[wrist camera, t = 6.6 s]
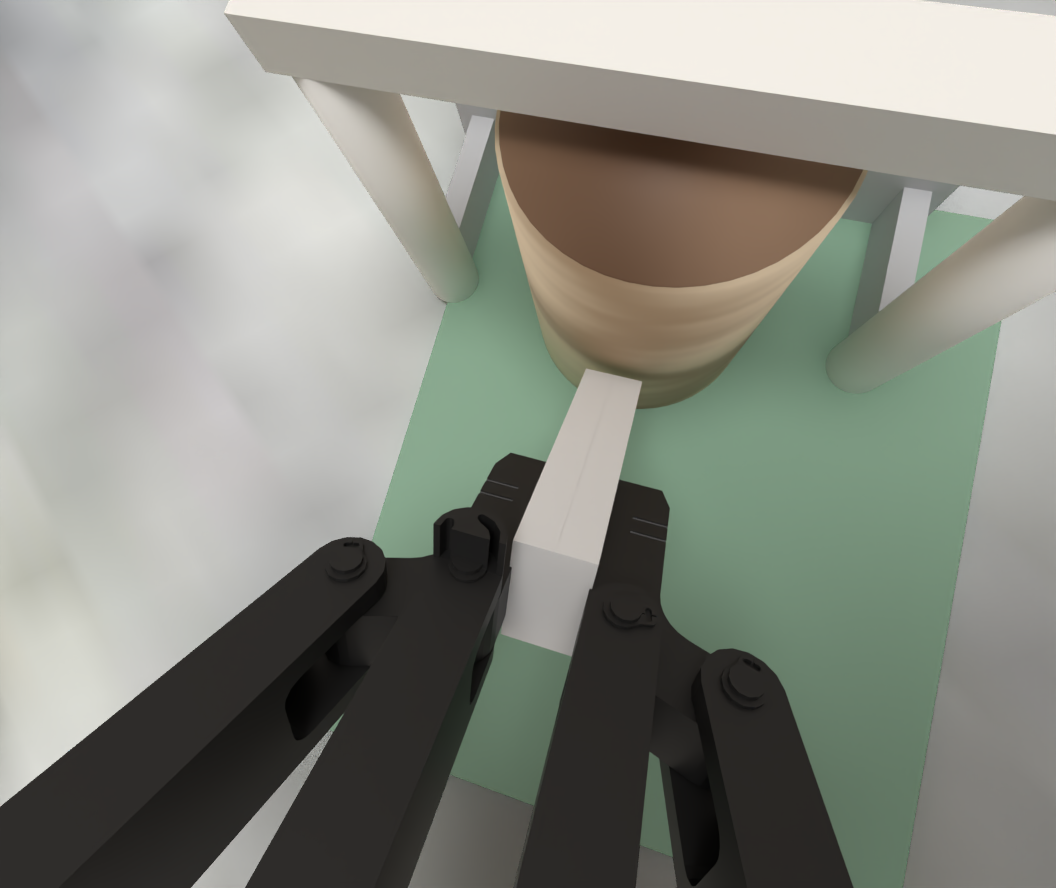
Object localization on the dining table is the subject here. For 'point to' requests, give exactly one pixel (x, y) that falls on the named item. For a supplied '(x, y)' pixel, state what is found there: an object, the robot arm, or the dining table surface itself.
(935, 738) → the dining table surface
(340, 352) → the dining table surface
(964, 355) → the pitch
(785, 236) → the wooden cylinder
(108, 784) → the robot arm
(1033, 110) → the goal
